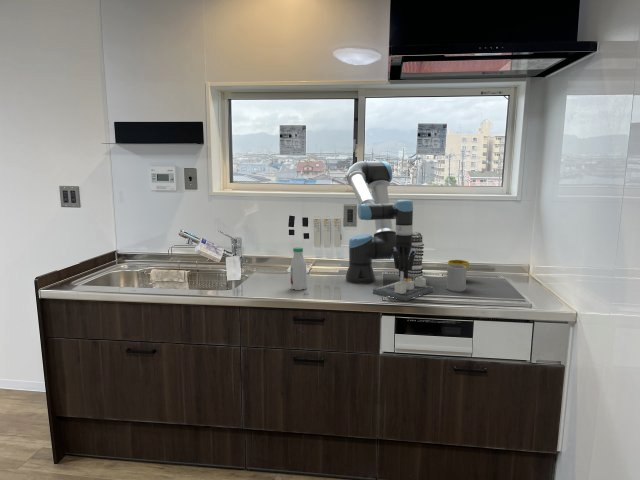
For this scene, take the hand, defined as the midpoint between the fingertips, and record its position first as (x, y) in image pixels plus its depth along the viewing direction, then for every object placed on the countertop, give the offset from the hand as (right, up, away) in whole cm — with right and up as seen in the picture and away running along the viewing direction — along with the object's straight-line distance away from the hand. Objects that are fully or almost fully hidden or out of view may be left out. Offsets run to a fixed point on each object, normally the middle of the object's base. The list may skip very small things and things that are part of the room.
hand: (403, 284), depth 205 cm
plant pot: (+32, 0, +22) cm, 39 cm away
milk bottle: (-49, -3, +10) cm, 50 cm away
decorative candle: (+9, -1, +21) cm, 23 cm away
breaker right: (+9, -1, +3) cm, 9 cm away
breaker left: (-3, -3, -8) cm, 9 cm away
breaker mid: (+2, -2, -2) cm, 3 cm away
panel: (0, -4, +1) cm, 4 cm away
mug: (+26, -3, +7) cm, 27 cm away
